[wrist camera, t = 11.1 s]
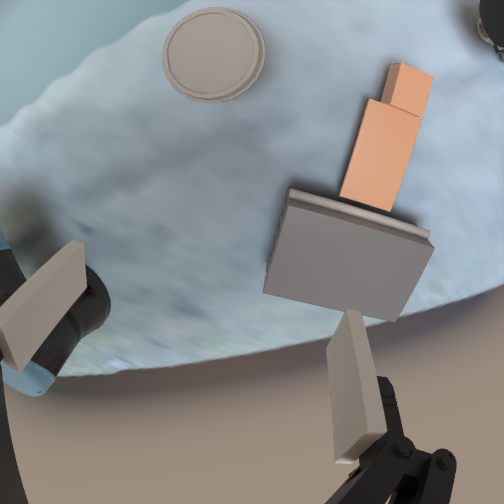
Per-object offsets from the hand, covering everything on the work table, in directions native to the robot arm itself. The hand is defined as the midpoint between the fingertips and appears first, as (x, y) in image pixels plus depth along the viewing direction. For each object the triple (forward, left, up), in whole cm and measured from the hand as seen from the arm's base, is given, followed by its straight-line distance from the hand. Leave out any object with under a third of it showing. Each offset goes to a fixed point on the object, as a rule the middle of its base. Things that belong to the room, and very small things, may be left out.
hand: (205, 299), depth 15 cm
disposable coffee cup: (-6, +12, -29) cm, 32 cm away
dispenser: (+14, -8, -29) cm, 33 cm away
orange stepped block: (+14, +8, -26) cm, 31 cm away
